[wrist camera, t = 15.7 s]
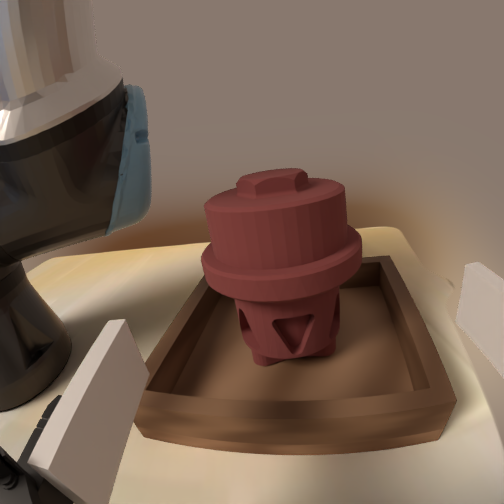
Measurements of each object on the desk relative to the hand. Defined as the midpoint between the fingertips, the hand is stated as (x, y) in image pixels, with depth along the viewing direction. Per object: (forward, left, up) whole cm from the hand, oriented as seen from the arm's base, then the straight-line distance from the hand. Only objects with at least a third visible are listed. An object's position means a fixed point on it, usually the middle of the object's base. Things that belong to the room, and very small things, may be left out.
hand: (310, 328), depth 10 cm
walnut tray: (-8, +5, -9) cm, 13 cm away
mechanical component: (-8, +5, -8) cm, 12 cm away
